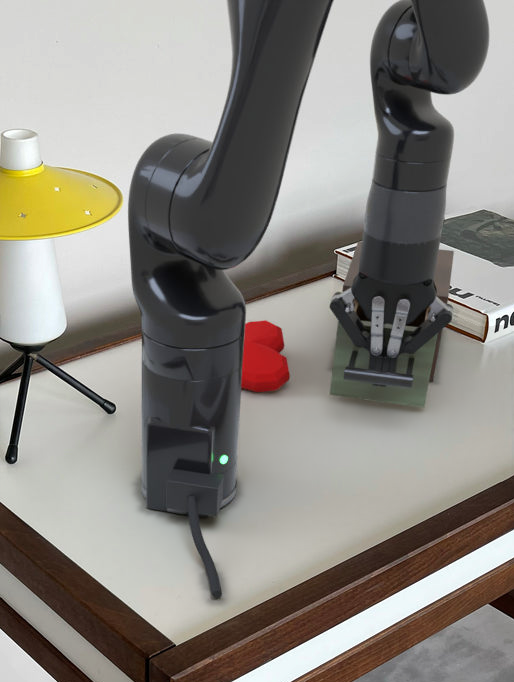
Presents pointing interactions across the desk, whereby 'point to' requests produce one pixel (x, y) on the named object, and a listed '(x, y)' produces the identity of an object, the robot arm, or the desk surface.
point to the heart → (263, 357)
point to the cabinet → (440, 280)
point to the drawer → (400, 386)
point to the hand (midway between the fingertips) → (380, 383)
